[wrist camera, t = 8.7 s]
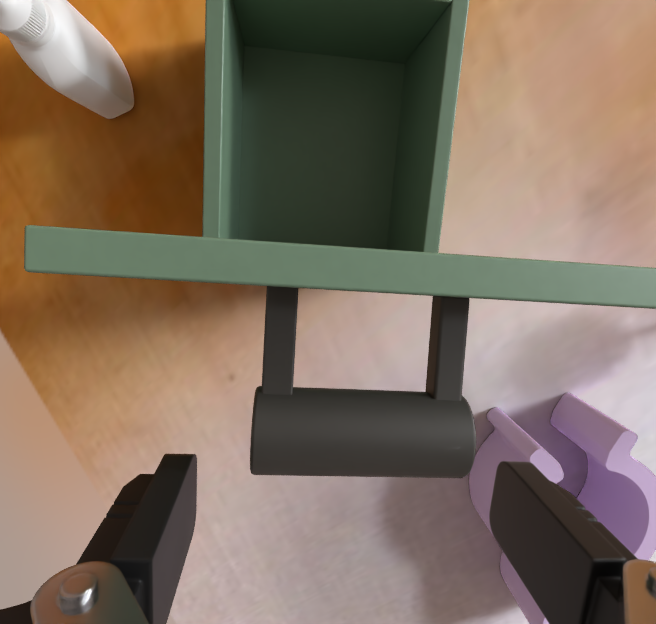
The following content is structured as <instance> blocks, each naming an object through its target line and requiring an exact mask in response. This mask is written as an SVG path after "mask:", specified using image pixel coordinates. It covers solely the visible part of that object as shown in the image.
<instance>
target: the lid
mask: <svg viewBox="0 0 656 624" xmlns="http://www.w3.org/2000/svg"><path fill="white" fill-rule="evenodd" d="M24 269H25V271H27V272H35V273H52V274H69V275H86V276H103V277H120V278H138V279H155V280H172V281H189V282H206V283H223V284H240V285H258V286H267V294H266V314H265V334H264V354H263V374H262V386H259V387H257V389H256V391H255V397H254V406H253V416H252V430H251V448H250V470H251V473H252V474H254V475H296V476H360V477H425V478H463V477H465V476H466V475H468V474H469V472H470V470H471V469H472V466H473V463H474V459H475V452H476V430H475V423H474V418H473V414H472V411H471V408H470V406H469V404H468V402H467V400H466V399H465V398H464V397H463V396H462V383H463V371H464V359H465V347H466V335H467V323H468V311H469V298H480V299H498V300H515V301H532V302H549V303H566V304H583V305H600V306H618V307H635V308H652V309H656V268H649V267H634V266H620V265H605V264H590V263H576V262H561V261H547V260H532V259H517V258H503V257H488V256H474V255H459V254H444V253H430V252H415V251H400V250H386V249H371V248H357V247H342V246H327V245H313V244H298V243H284V242H269V241H254V240H240V239H225V238H211V237H196V236H181V235H167V234H152V233H137V232H123V231H108V230H94V229H79V228H64V227H50V226H35V225H28V226H25V249H24ZM298 288H309V289H326V290H343V291H360V292H378V293H395V294H412V295H429V296H433V302H432V315H431V328H430V341H429V354H428V367H427V380H426V392H412V391H384V390H356V389H328V388H300V387H293V376H294V358H295V340H296V322H297V304H298Z"/></svg>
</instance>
